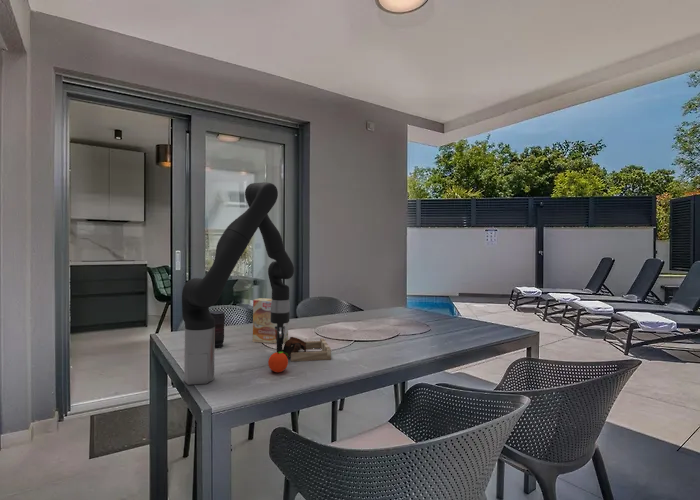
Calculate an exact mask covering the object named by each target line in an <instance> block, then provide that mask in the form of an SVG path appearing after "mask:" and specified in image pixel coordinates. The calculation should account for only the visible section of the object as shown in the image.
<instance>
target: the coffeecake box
mask: <svg viewBox="0 0 700 500" xmlns="http://www.w3.org/2000/svg"><path fill="white" fill-rule="evenodd" d="M252 301H253V304H252V305H253V307H252V342H253V343H261V344H262V343H263V344H273V343H276V338H275V327H276V326H277V324H274V323H271V302H272V298H263V297H262V298H261V297H258V298H255V299H253V300H252ZM283 326H285V332H284V339H283V343H284V344H285V342H286V341H287V340H289V322H288V323H284V324H283Z"/></svg>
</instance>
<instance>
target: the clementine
mask: <svg viewBox="0 0 700 500" xmlns="http://www.w3.org/2000/svg"><path fill="white" fill-rule="evenodd" d="M284 353H285V352H284ZM284 353H283V352H277V351H276V352H274V353H272V354H271V355H270V356H269V358H268V363H267V364H268V365H267V366H268V368H269V369H270V370H271V371H272V372H274V373H281V372H283V371H285V370H286V368H287V367H288V364H289V359H288V358H289V357H287V356H288V354H287V353H286V354H287V356H286V355H285V354H284Z"/></svg>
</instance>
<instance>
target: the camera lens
mask: <svg viewBox="0 0 700 500" xmlns="http://www.w3.org/2000/svg"><path fill="white" fill-rule="evenodd" d="M209 311H210V310H209ZM210 314H211V315H212V316H213V317H214V319H215V349H217V348H221V347H223V345H224V341H225V322H226V320H225V319H226V315H225V311H221V310H211V311H210Z"/></svg>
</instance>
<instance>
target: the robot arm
mask: <svg viewBox="0 0 700 500" xmlns="http://www.w3.org/2000/svg"><path fill="white" fill-rule="evenodd" d="M278 194H279V191H278V188H277V187H276V185H275V184H273V183H272V182H266V181H265V182H253V183H252V182H251V183H249V184H248V185H247V186H246V188H245V190H244V197H245V201H246V203H247V206H248V208H247V210H245V211H244V212H243V213H242V214H241V215H239V216H238V217H237V218H235V219H234V220H232V222H230V223H229V225H228V226H227V227H226V228H225V229H224V231H223V233H222V234H221V235H220V238H219V240H218V241H217V243H216V248H215V255H214V260H213V263H212V265H211V266H210V268H209V270H208V271H207V273H206V274H205V275H204V276H203V278H200V277H196V278H191V279H189V280H187V281H186V283H185V284H184V286H183V288H182V291H181V312H182V313H181V314H182V320H183V323H184V359H183V361H184V362H183V363H184V365H183V366H184V367H183V368H184V376H183V377H184V378H183V379H184V381H183V382H184V383H186V385H187V386H188V385H205V384H208V383H210V382H212V381H213V380H214V379H215V352H216V351H215V350H216V348H215V319H214V317H213V316H212V315H211V314H210V308H211V307H213V306H214V305H215V304H216V303H217V302H218V301H219V299H220V298H221V296H222V293H223V291H224V289H225V286H226V285H227V282H228V281H229V277H230V276H231V275H232V273H233V271H234V268H236V265H237V264H238V262H239V260H240V259H241V257H242V255H243V254H244V253H245V251H246V248H248V246H249V244H250V242H251V240H252V238H253V237H254V235H255V233H256V231H257V230H258V229H259V231H260V234H261V237H262V239H263V243H264V247H265V251H266V254H267V256H268V258H269V259H270V260H274V261H272V262H271V263H270V264H269V265H268V269H267V274H268V280H269V283H270V288H271V299H272V302H271V323H274V324H277V326H276V327H275V338H276V352H282V350H283V346H284V344H283V339H284V332H285V326H283V324H284V323H288V324H289V322H290V315H291V314H290V311H291V310H290V309H291V308H290V307H291V306H290V305H291V304H290V287H289V285H287V284H285V283H283V280H290V279H292V278H293V276H294V274H295V267H294V264H293V262H292V259H291V257H290V256H289V255H288V253H287V251H286V249H285V246H284V241H283V238H282V236H281V233H280V231H279V229H278V228H277V227H276V225H275V224H274V223H273V221H272V220H271V218H270V217H269V215H268V214H269V212H270V211H271V210H272V209H273V207H274V206H275V205H276V202H277V201H278V197H279V196H278Z"/></svg>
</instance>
